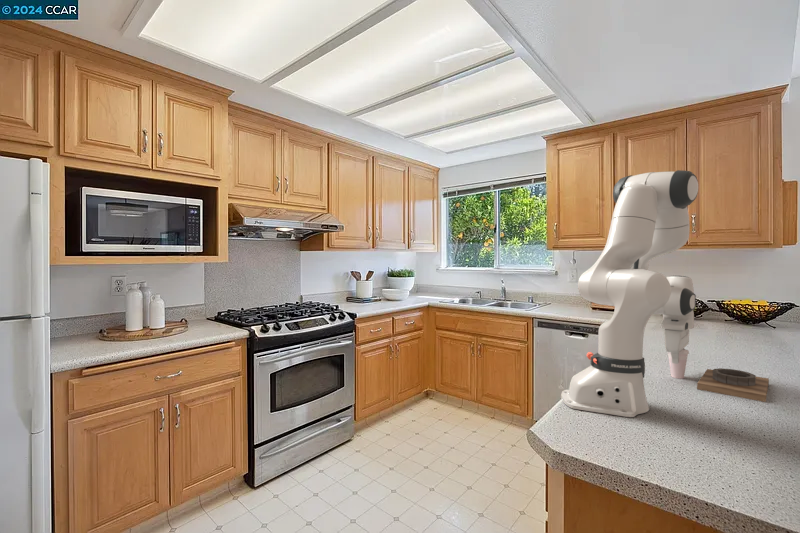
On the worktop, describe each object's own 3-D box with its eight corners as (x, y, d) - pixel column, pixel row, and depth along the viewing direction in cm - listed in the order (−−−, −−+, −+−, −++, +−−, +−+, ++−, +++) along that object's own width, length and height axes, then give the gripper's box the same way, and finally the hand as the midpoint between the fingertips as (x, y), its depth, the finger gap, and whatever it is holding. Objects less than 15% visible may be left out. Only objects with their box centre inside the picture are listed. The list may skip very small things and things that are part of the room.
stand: (766, 402, 113) (766, 386, 113) (697, 389, 124) (697, 375, 124) (768, 384, 128) (768, 370, 128) (707, 374, 140) (707, 361, 140)
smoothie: (692, 380, 133) (693, 339, 133) (671, 379, 134) (672, 338, 134) (683, 374, 139) (683, 335, 139) (663, 373, 141) (663, 335, 140)
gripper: (673, 317, 146) (672, 354, 146) (660, 324, 131) (660, 365, 132) (694, 319, 141) (693, 357, 142) (683, 326, 127) (683, 368, 127)
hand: (677, 361), depth 137 cm, fingers closed on smoothie, 6 cm apart
